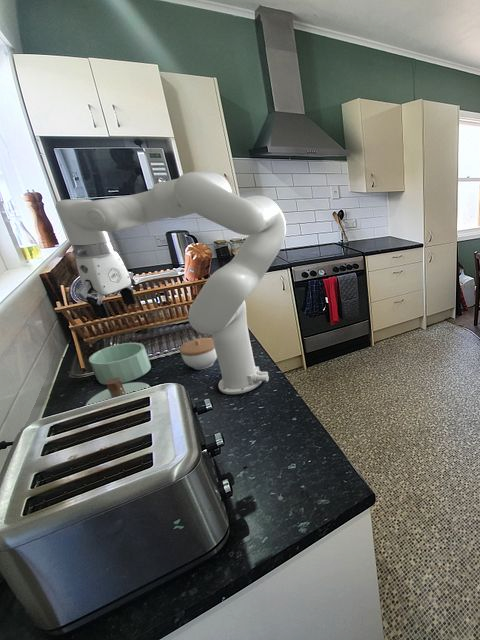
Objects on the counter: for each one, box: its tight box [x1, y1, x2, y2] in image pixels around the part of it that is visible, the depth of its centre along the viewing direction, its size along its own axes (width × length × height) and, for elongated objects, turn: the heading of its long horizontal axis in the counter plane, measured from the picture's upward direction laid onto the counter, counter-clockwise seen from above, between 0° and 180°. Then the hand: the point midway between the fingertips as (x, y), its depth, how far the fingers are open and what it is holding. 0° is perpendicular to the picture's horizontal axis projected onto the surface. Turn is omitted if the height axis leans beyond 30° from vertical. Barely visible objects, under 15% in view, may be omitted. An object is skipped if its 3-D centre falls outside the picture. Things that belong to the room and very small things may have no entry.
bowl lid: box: [85, 378, 151, 406], centre depth 99 cm, size 15×15×7 cm
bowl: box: [88, 342, 152, 385], centre depth 112 cm, size 14×14×8 cm
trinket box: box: [178, 337, 218, 371], centre depth 117 cm, size 11×11×9 cm
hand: (117, 310), depth 97 cm, fingers open, 9 cm apart
